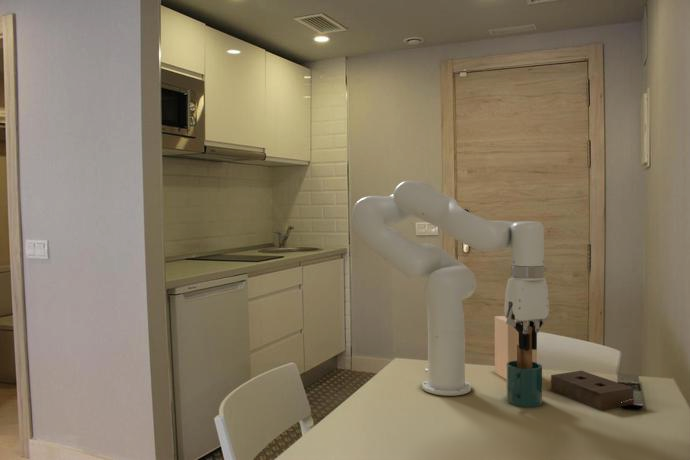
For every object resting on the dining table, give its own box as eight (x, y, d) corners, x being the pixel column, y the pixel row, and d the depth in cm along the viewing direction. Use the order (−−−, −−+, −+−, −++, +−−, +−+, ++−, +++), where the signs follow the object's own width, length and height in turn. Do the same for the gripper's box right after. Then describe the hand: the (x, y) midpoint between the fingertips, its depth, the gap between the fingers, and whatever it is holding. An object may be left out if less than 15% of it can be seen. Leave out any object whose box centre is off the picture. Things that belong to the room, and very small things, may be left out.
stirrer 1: (516, 396, 142) (516, 344, 142) (521, 396, 143) (521, 343, 142) (520, 398, 141) (520, 345, 140) (525, 397, 141) (525, 345, 141)
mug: (514, 393, 146) (514, 358, 146) (546, 400, 141) (546, 363, 141) (495, 406, 137) (495, 368, 137) (529, 413, 132) (529, 374, 132)
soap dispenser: (508, 381, 157) (508, 300, 156) (494, 372, 166) (494, 296, 165) (551, 378, 159) (551, 299, 159) (535, 369, 168) (535, 294, 167)
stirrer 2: (523, 379, 139) (523, 325, 139) (528, 378, 140) (528, 325, 140) (527, 381, 138) (527, 327, 138) (532, 380, 139) (532, 326, 138)
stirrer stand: (550, 390, 149) (550, 374, 149) (581, 385, 153) (581, 370, 153) (600, 410, 134) (600, 393, 134) (633, 404, 137) (633, 387, 137)
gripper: (542, 269, 145) (542, 342, 145) (490, 273, 139) (491, 348, 140) (564, 272, 138) (564, 349, 138) (510, 276, 132) (511, 356, 133)
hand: (527, 348), depth 139 cm, fingers closed on stirrer 2, 1 cm apart
